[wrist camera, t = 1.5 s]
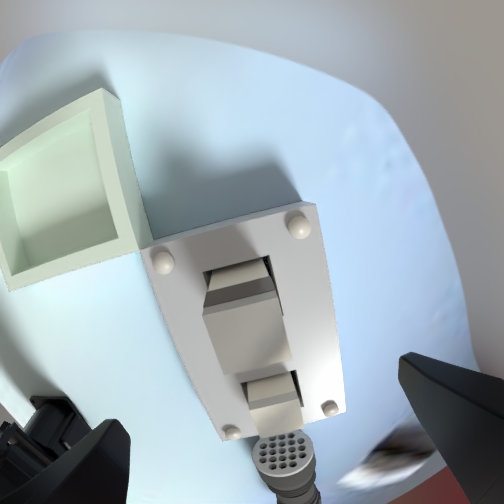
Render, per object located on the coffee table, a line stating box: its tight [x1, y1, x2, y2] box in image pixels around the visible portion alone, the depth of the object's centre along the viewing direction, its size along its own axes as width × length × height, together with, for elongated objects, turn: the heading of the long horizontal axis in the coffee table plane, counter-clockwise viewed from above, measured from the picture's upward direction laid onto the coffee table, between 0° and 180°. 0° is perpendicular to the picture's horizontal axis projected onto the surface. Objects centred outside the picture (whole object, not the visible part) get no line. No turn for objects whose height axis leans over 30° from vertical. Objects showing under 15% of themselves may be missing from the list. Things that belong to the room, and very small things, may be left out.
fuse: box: [247, 371, 305, 439], centre depth 18 cm, size 3×3×6 cm
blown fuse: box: [202, 257, 292, 375], centre depth 15 cm, size 3×3×8 cm
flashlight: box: [252, 430, 321, 504], centre depth 22 cm, size 15×5×5 cm, turn 13°
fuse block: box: [140, 201, 345, 441], centre depth 18 cm, size 10×16×3 cm, turn 14°
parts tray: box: [0, 88, 153, 292], centre depth 15 cm, size 12×10×3 cm
